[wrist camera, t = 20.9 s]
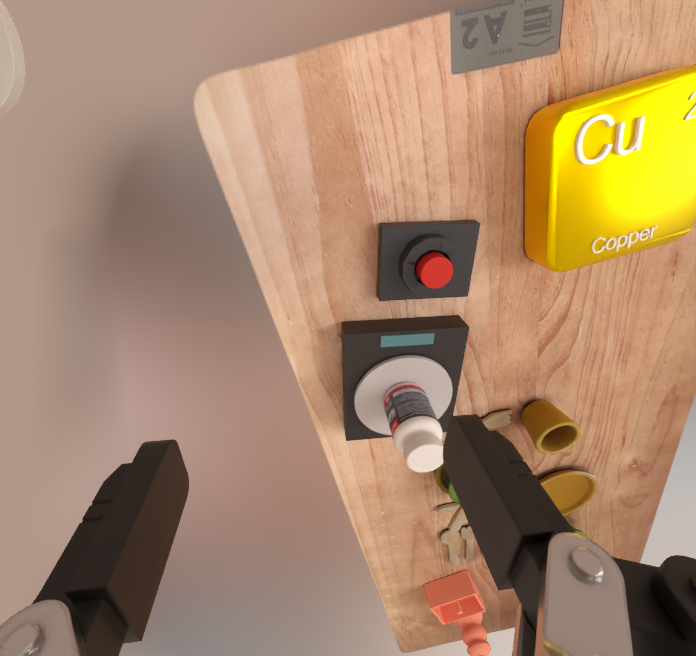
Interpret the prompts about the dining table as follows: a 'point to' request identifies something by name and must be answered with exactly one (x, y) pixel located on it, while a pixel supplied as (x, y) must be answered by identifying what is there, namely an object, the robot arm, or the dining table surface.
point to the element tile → (611, 171)
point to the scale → (399, 368)
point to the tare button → (434, 270)
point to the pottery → (460, 609)
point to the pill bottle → (414, 426)
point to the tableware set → (562, 487)
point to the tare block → (414, 242)
